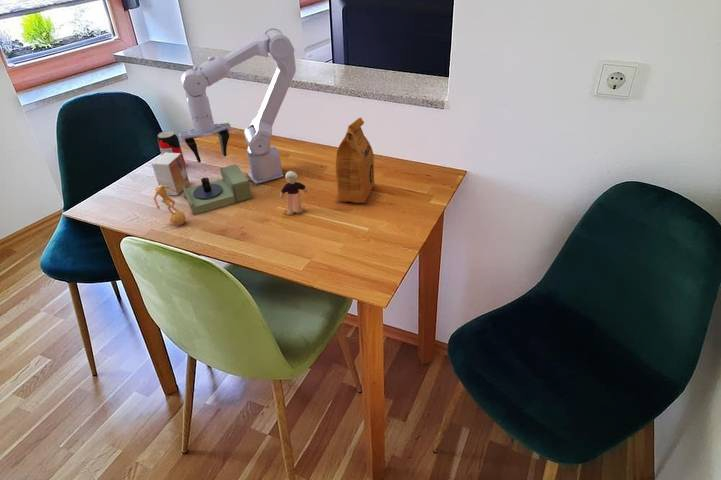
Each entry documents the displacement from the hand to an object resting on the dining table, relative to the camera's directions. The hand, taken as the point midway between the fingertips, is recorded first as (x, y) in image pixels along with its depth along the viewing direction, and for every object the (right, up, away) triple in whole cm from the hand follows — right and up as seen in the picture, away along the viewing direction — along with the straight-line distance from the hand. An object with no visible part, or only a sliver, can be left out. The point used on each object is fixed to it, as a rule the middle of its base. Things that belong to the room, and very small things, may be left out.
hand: (211, 158), depth 144 cm
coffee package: (+44, -11, -2) cm, 45 cm away
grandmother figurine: (+26, -17, -8) cm, 32 cm away
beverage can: (-17, -1, +17) cm, 24 cm away
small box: (-13, -9, +5) cm, 16 cm away
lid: (0, -11, -3) cm, 11 cm away
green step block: (+2, -12, 0) cm, 12 cm away
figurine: (-6, -20, -11) cm, 24 cm away
